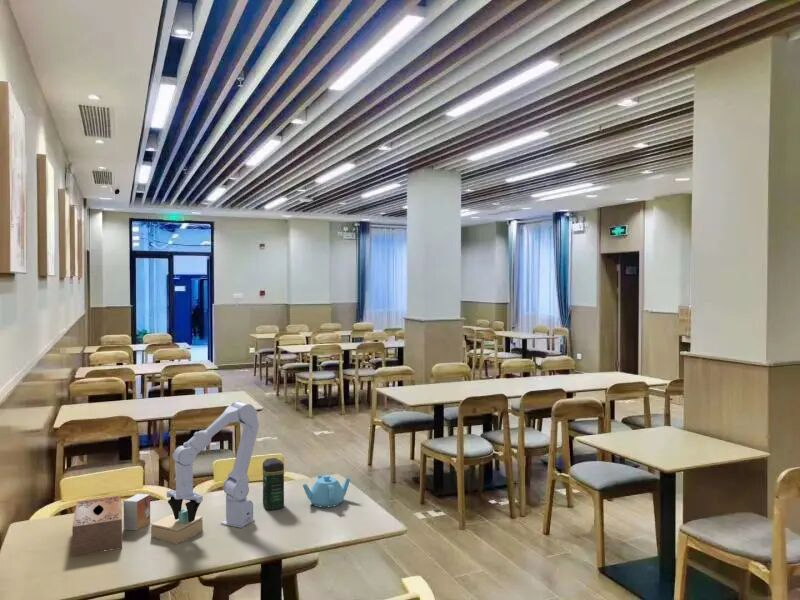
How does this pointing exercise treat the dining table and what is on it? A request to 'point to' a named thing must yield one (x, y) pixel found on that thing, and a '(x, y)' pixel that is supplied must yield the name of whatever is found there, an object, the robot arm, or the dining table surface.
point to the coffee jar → (273, 483)
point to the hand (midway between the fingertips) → (184, 519)
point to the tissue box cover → (97, 525)
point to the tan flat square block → (176, 521)
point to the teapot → (326, 491)
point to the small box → (136, 512)
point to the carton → (176, 532)
